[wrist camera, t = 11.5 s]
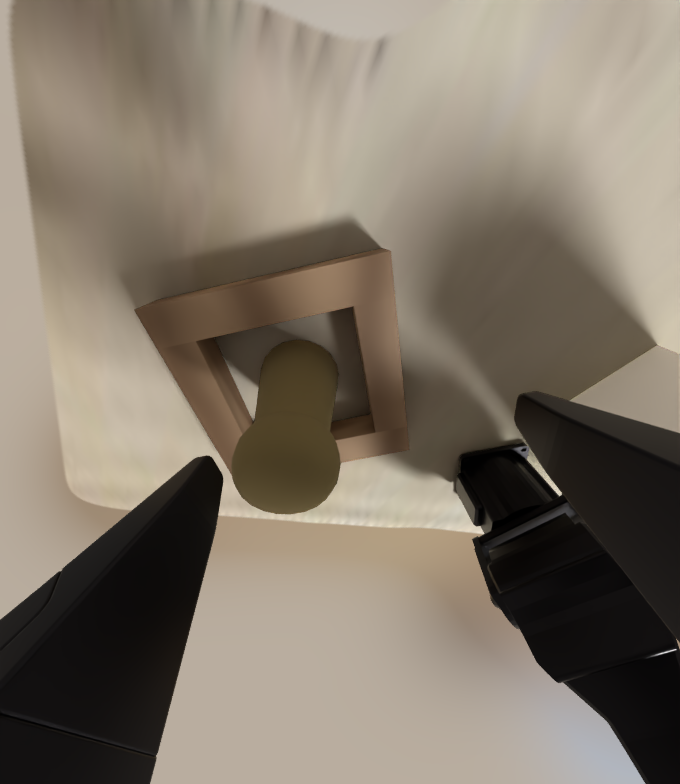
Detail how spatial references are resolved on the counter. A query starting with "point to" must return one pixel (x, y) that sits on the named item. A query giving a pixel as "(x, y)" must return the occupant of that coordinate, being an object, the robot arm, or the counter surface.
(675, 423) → the milk
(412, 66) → the counter surface
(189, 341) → the socket block
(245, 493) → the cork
